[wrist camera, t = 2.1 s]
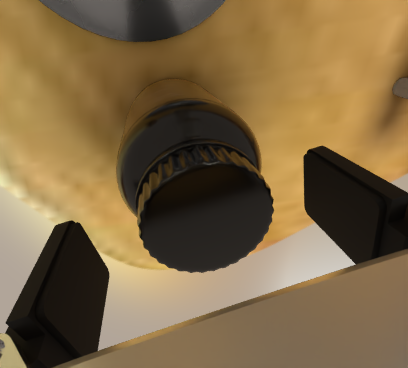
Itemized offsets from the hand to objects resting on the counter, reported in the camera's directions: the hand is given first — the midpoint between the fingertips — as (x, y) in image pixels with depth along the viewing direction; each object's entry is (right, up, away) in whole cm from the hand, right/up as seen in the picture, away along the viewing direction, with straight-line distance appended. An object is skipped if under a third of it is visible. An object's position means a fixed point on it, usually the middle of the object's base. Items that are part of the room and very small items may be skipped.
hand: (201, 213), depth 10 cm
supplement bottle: (-2, +6, +9) cm, 11 cm away
